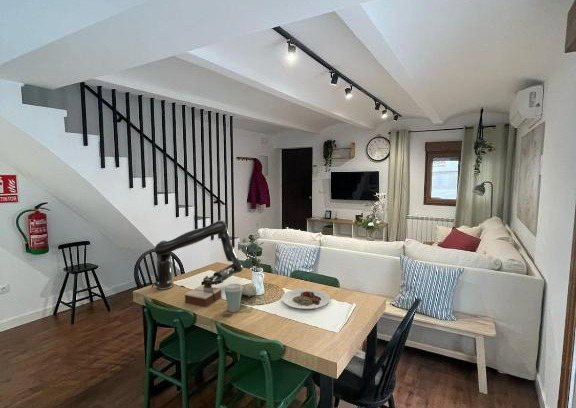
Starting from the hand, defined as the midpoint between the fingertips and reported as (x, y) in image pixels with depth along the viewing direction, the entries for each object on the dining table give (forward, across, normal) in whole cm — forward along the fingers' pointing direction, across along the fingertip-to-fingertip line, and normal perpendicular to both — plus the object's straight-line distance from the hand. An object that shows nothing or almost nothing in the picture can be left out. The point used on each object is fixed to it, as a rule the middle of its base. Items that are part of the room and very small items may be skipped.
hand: (205, 284), depth 194 cm
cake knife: (-3, 0, +12) cm, 12 cm away
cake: (-3, -4, +12) cm, 13 cm away
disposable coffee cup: (+2, +22, +12) cm, 25 cm away
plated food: (-26, +57, +12) cm, 63 cm away
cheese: (-23, +20, +12) cm, 32 cm away
